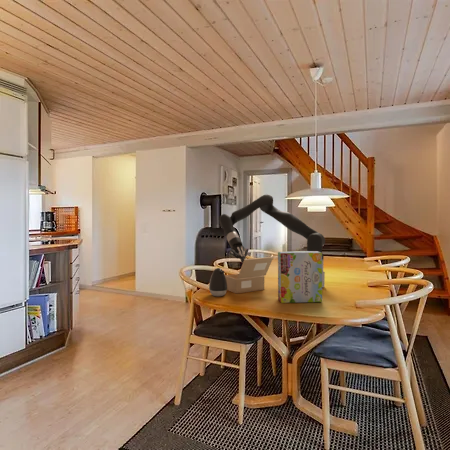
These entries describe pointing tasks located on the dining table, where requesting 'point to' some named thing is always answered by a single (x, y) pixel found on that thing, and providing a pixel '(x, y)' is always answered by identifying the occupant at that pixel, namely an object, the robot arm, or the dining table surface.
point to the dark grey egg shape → (218, 283)
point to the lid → (255, 267)
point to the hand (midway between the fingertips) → (244, 262)
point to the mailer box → (244, 283)
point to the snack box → (300, 276)
